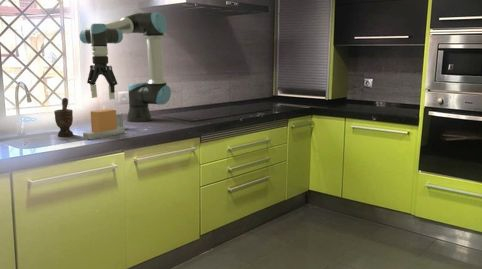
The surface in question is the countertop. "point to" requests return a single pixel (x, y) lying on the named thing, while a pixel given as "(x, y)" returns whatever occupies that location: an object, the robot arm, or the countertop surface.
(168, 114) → the countertop surface
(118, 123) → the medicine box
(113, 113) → the orange block with prongs
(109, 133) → the rail
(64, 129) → the mortar and pestle
